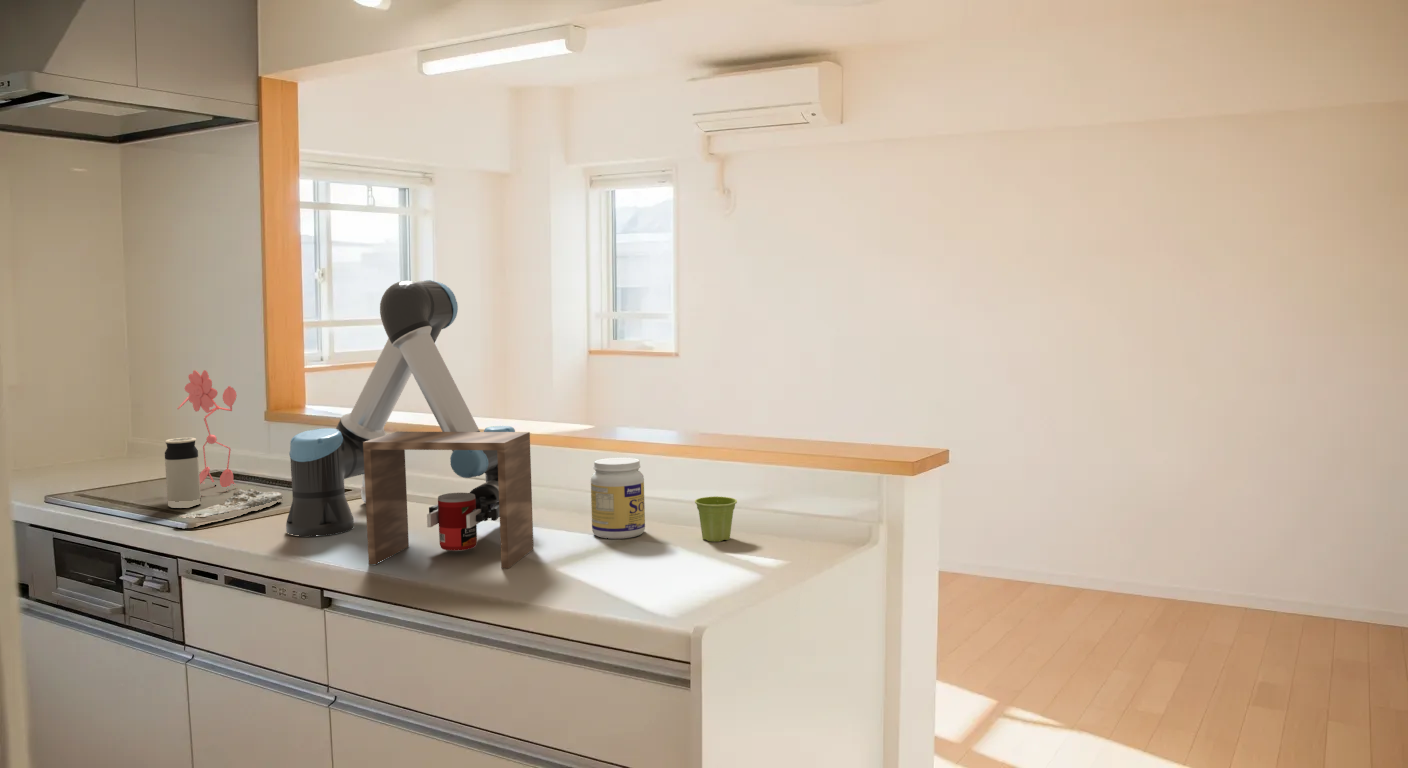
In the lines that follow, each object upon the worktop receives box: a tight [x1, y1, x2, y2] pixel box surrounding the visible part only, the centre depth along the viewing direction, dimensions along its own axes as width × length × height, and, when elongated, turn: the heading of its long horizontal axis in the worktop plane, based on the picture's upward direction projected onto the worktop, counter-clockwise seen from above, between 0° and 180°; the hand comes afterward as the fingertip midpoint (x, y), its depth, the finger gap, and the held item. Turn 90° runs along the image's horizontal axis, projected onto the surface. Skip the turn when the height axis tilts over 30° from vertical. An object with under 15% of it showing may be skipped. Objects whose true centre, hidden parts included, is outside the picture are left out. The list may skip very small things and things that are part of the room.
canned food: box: [437, 492, 478, 551], centre depth 230 cm, size 8×8×11 cm
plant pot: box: [694, 495, 738, 543], centre depth 239 cm, size 9×9×9 cm
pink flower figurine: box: [177, 369, 237, 488], centre depth 308 cm, size 15×26×35 cm, turn 61°
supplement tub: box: [590, 457, 646, 540], centre depth 246 cm, size 12×12×17 cm
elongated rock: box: [178, 488, 284, 518], centre depth 276 cm, size 35×5×10 cm
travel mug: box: [164, 437, 202, 502], centre depth 287 cm, size 8×8×18 cm
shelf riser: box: [363, 431, 534, 569], centre depth 226 cm, size 30×16×26 cm, turn 81°
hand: (448, 521), depth 225 cm, fingers closed on canned food, 8 cm apart
